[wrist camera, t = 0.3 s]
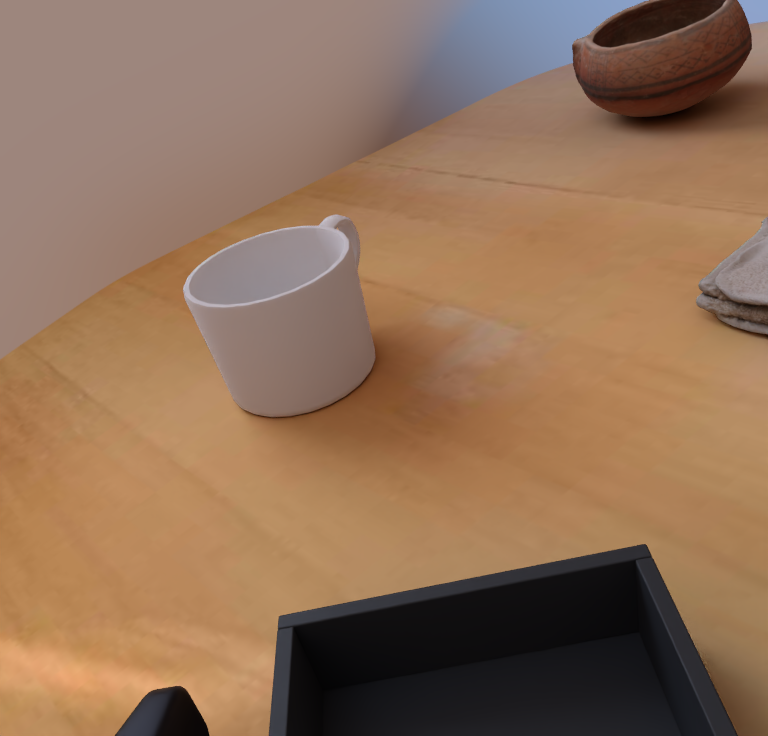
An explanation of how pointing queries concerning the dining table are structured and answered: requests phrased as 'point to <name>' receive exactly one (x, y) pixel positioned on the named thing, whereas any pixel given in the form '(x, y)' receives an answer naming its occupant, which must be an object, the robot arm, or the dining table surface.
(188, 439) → the dining table surface
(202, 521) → the dining table surface
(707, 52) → the bowl
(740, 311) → the washcloth
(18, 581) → the dining table surface
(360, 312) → the mug
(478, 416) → the dining table surface
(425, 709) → the black square tray
